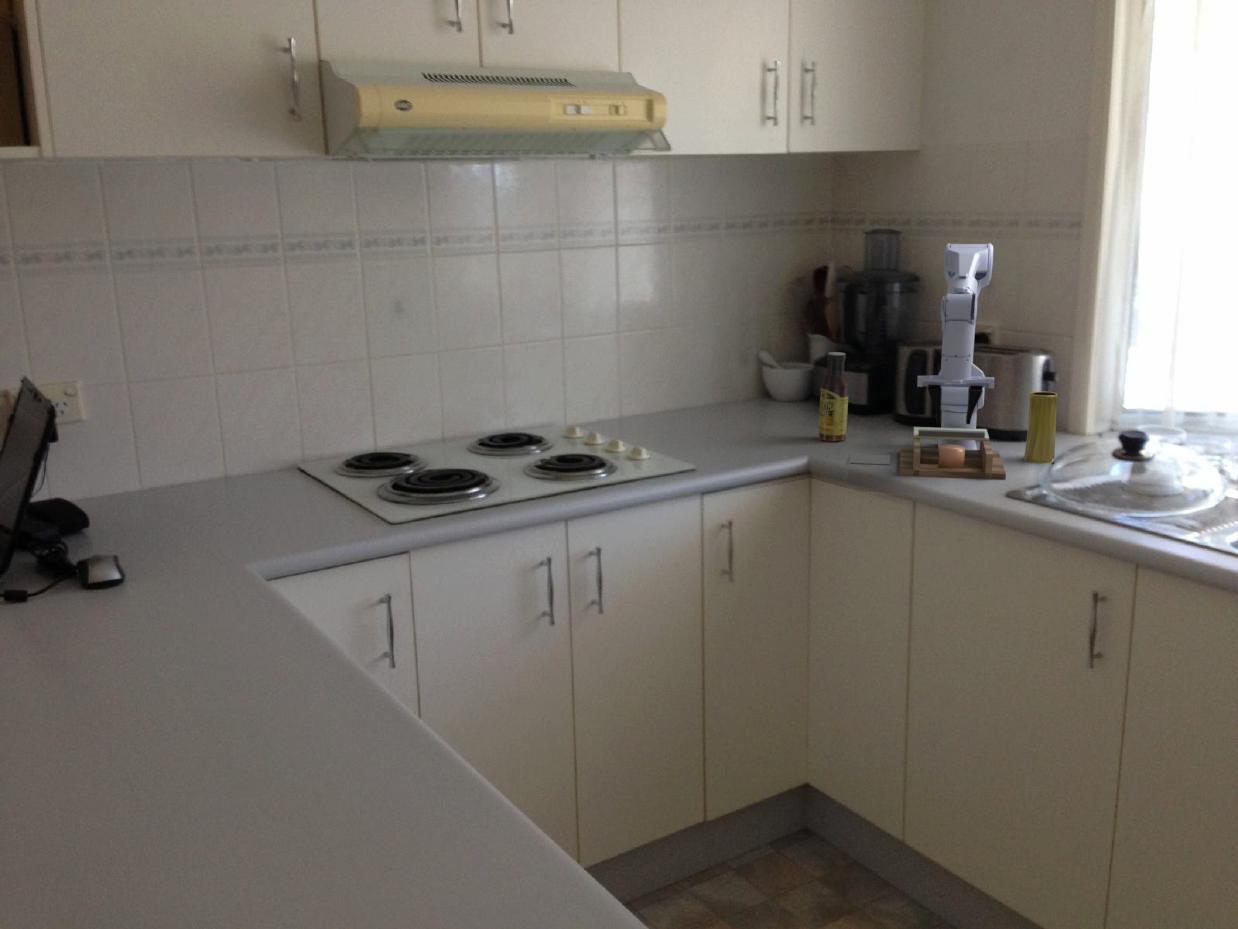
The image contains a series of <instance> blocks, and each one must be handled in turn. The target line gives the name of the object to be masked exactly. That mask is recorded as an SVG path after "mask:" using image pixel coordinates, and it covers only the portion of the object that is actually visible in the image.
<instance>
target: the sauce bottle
mask: <svg viewBox="0 0 1238 929" xmlns="http://www.w3.org/2000/svg"><path fill="white" fill-rule="evenodd" d="M826 360H827V369H826V373H825V376H824V379H823V382H822V384H821V387H820V399H819V413H818V414H819V416H818V417H819V418H818V437H819V439H820V440H821V441H825V442H830V443H831V442H834V443H835V442H843V441H845V440H846V437H847V436H846V434H847V429H848V428H847V426H848V425H847V424H848V411H849V410H848V409H849V408H848V406H849V389H850V388H849V386H850V385H849V381H848V380H847V377H846V375H845V362H846V360H847V355H846V353H845V352H840V351H839V352H837V351H834V352H832V351H831V352H828V353H827V357H826Z"/></svg>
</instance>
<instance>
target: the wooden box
mask: <svg viewBox="0 0 1238 929" xmlns="http://www.w3.org/2000/svg"><path fill="white" fill-rule="evenodd" d="M912 438H913V440H912V445H913V446H912V447H907V446H906V447H904V446H903V447H900V448H899V449H900V450H899V451H900V452H899V473H898V474H899V476H907V477H908V476H909V477H912V476H913V477H934V478H955V479H956V478H960V479H961V478H962V479H985V480H1006V478H1007V473H1006V470H1005V467H1004V464H1003V460H1002V457H1001V455H1000V451H999V450H993V449H992V446H991V443H990V440H989V441H982V440H979V449H977V450H965V457H964V469H948V468H938V458H939V449H938V448H934V447H933V448H929V447H926V448H925V447H921V438H914V435H913V436H912Z"/></svg>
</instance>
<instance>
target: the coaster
mask: <svg viewBox="0 0 1238 929" xmlns="http://www.w3.org/2000/svg"><path fill="white" fill-rule="evenodd" d="M850 457H851V458H850V459H849V460H850V461H849V464H850V465H871V466H873V465H874V466H890V465H891V455H890V454H864V453H863V454H861V453H851V456H850Z"/></svg>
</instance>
